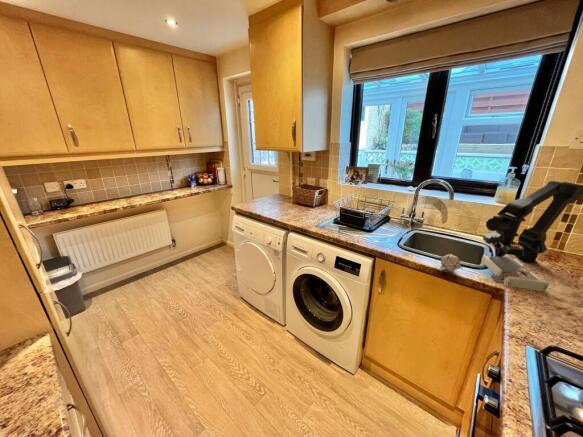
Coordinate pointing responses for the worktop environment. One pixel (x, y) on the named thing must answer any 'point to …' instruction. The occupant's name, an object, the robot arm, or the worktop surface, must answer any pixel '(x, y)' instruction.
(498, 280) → the block
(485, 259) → the trap lane
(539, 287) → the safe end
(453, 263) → the game die
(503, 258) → the slate block
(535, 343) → the worktop surface
